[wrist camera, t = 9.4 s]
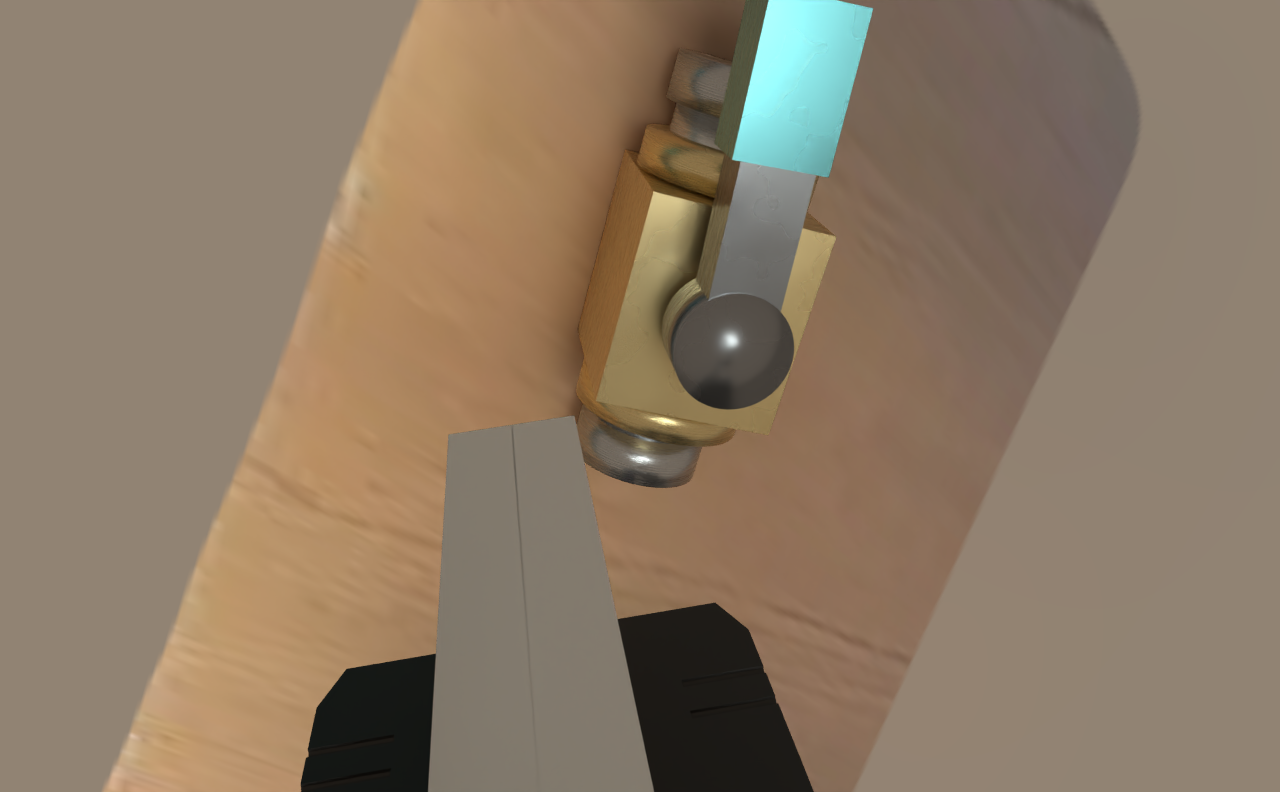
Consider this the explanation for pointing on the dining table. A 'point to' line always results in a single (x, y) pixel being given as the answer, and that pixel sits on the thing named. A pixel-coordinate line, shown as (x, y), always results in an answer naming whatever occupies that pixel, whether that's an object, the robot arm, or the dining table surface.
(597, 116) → the dining table surface
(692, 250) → the pipe valve
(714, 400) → the lever
